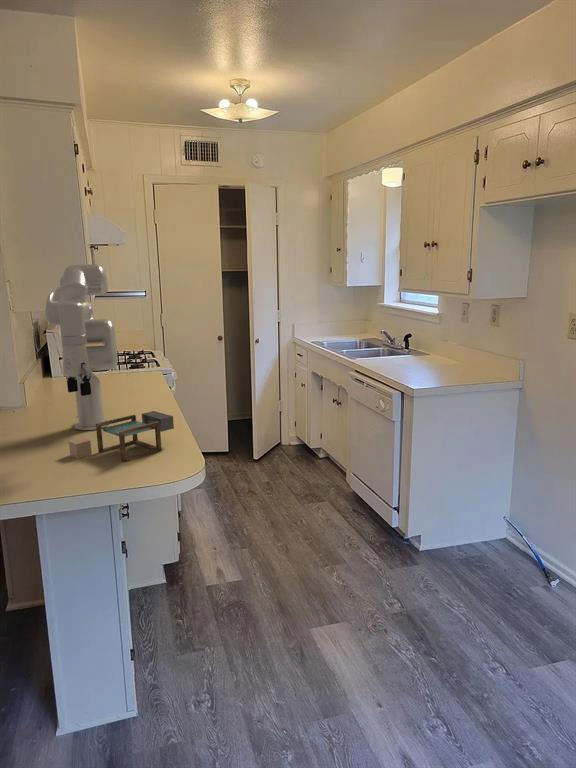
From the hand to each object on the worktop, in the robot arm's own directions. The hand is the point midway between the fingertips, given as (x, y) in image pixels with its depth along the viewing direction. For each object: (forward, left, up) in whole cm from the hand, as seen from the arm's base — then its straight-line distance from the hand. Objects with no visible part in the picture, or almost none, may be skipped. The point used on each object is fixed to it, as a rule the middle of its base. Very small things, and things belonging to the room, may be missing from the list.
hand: (79, 393), depth 181 cm
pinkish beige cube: (0, -2, -21) cm, 21 cm away
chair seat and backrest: (+10, +15, -15) cm, 23 cm away
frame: (+10, +11, -21) cm, 26 cm away
